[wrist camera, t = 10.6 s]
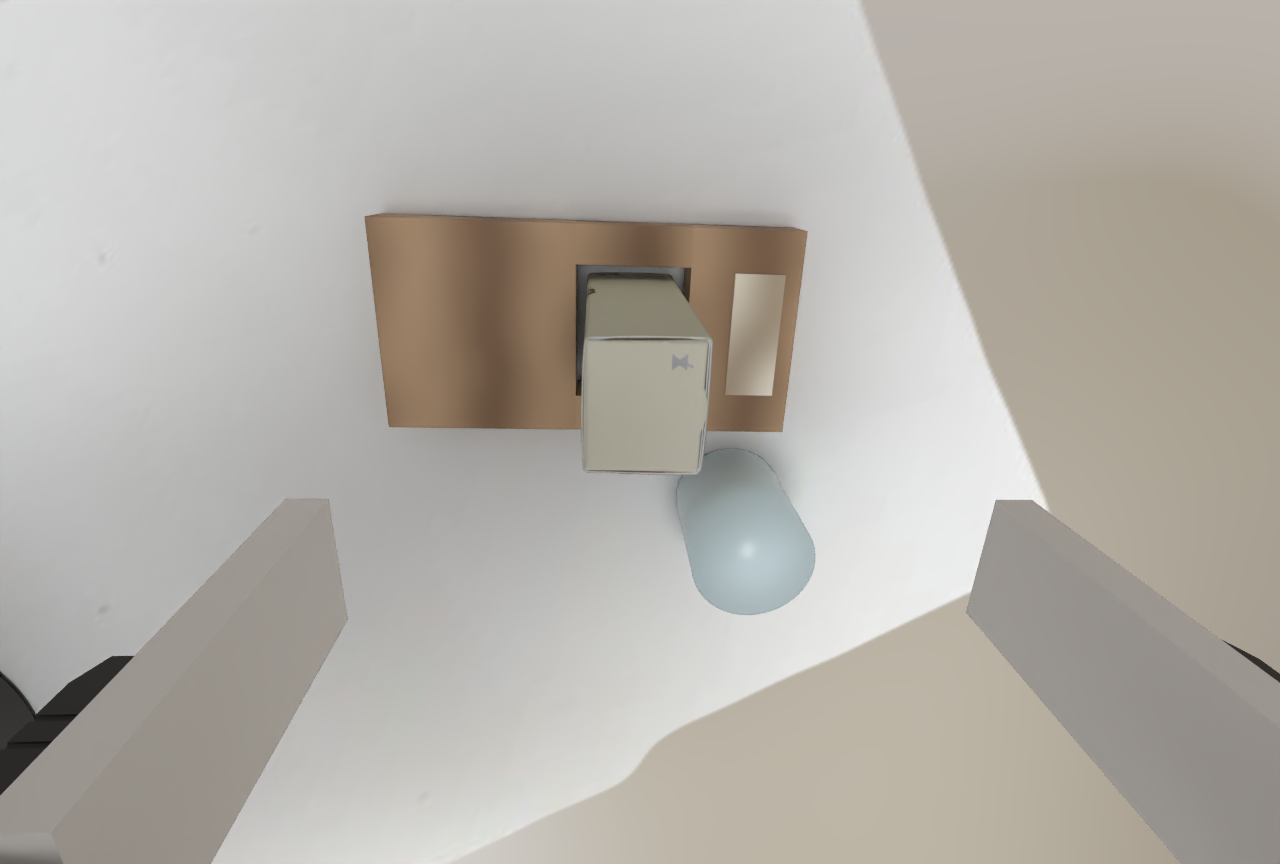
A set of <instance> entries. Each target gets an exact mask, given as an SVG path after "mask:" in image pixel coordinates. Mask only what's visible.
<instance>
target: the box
mask: <svg viewBox="0 0 1280 864" xmlns="http://www.w3.org/2000/svg"><path fill="white" fill-rule="evenodd" d="M712 348H713V340H712V338H711V336H710V335H709V333H708V332H707V330H706V329H705V327H704V326H703V324H702V323H701V321H700V320H699V318H698V316H697V315H696V313H695V312H694V310H693V309H692V307H691V306H690V304H689V303H688V301H687V300H686V298H685V297H684V295H683V294H682V292H681V291H680V289H679V287H678V286H677V284H676V283H675V281H674V280H673V278H672V276H671V275H668V274H645V273H591V274H589V276H588V280H587V302H586V323H585V338H584V347H583V362H582V395H581V435H582V464H583V470H584V471H585V472H588V473H620V474H648V475H696V474H698V473H699V472H700V471H701V467H702V462H703V454H704V446H705V437H706V427H707V417H708V407H709V393H710V380H711V364H712Z"/></svg>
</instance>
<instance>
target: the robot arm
mask: <svg viewBox="0 0 1280 864" xmlns="http://www.w3.org/2000/svg"><path fill="white" fill-rule="evenodd" d="M966 613H967V614H968V615H969V617H970V618H971V619H972V620H973V621H974V622H975V624H976V625H977V626H978V627H979V628H980V629H981V630H982V632H983V633H984V634H985V635H986V636H987V637H988V639H989V640H990V641H991V642H992V643H993V645H994V646H995V647H996V648H997V649H998V650H999V651H1000V653H1001V654H1002V655H1003V656H1004V657H1005V659H1006V660H1007V661H1008V662H1009V663H1010V664H1011V666H1012V667H1013V668H1014V669H1015V670H1016V672H1017V673H1018V674H1019V675H1020V676H1021V677H1022V679H1023V680H1024V681H1025V682H1026V683H1027V684H1028V686H1029V687H1030V688H1031V689H1032V690H1033V691H1034V693H1035V694H1036V695H1037V696H1038V697H1039V698H1040V700H1041V701H1042V702H1043V703H1044V704H1045V705H1046V707H1047V708H1048V709H1049V710H1050V711H1051V713H1052V714H1053V715H1054V716H1055V717H1056V718H1057V720H1058V721H1059V722H1060V723H1061V724H1062V725H1063V727H1064V728H1065V729H1066V730H1067V731H1068V732H1069V734H1070V735H1071V736H1072V737H1073V738H1074V739H1075V740H1076V742H1077V743H1078V744H1079V745H1080V746H1081V748H1082V749H1083V750H1084V751H1085V752H1086V753H1087V755H1088V756H1089V757H1090V758H1091V759H1092V761H1093V762H1094V763H1095V764H1096V765H1097V766H1098V768H1100V770H1101V771H1102V772H1103V773H1104V775H1105V776H1106V777H1107V778H1108V779H1109V780H1110V781H1111V783H1112V784H1113V785H1114V786H1115V787H1116V788H1117V790H1118V791H1119V792H1120V793H1121V794H1122V796H1123V797H1124V798H1125V799H1126V800H1127V801H1128V803H1129V804H1130V805H1131V806H1132V807H1133V808H1134V810H1135V811H1136V812H1137V813H1138V814H1139V816H1140V817H1141V818H1142V819H1143V820H1144V821H1145V823H1146V824H1147V825H1148V826H1149V827H1150V828H1151V830H1152V831H1153V832H1154V833H1155V834H1156V835H1157V837H1159V839H1160V840H1161V841H1162V842H1163V844H1164V845H1165V846H1166V847H1167V848H1168V849H1169V851H1170V852H1171V853H1172V854H1173V855H1174V856H1175V858H1176V859H1177V860H1178V861H1179V862H1180V863H1181V864H1280V674H1279V673H1278V672H1276V671H1275V670H1273V669H1272V668H1271V667H1269V666H1268V665H1267V664H1265V663H1264V662H1263V661H1261V660H1260V659H1258V658H1256V657H1254V656H1252V655H1250V654H1248V653H1247V652H1245V651H1243V650H1241V649H1239V648H1237V647H1235V646H1233V645H1231V644H1229V643H1227V642H1225V641H1223V640H1221V639H1220V638H1218V637H1217V636H1216V635H1214V634H1213V633H1211V632H1210V631H1209V630H1208V629H1206V628H1205V627H1203V626H1202V625H1201V624H1199V623H1198V622H1196V621H1195V620H1194V619H1192V618H1191V617H1190V616H1188V615H1187V614H1186V613H1184V612H1183V611H1182V610H1180V609H1179V608H1178V607H1176V606H1175V605H1174V604H1172V603H1171V602H1169V601H1168V600H1167V599H1165V598H1164V597H1163V596H1161V595H1160V594H1159V593H1157V592H1156V591H1154V590H1153V589H1152V588H1151V587H1149V586H1148V585H1146V584H1145V583H1144V582H1142V581H1141V580H1139V579H1138V578H1137V577H1136V576H1134V575H1133V574H1132V573H1130V572H1129V571H1127V570H1126V569H1125V568H1123V567H1122V566H1121V565H1119V564H1118V563H1117V562H1115V561H1114V560H1112V559H1111V558H1110V557H1108V556H1107V555H1106V554H1104V553H1103V552H1102V551H1100V550H1099V549H1097V548H1096V547H1095V546H1093V545H1092V544H1091V543H1089V542H1088V541H1087V540H1085V539H1084V538H1083V537H1081V536H1080V535H1078V534H1077V533H1076V532H1075V531H1073V530H1072V529H1070V528H1069V527H1068V526H1066V525H1065V524H1064V523H1062V522H1061V521H1060V520H1058V519H1057V518H1056V517H1054V516H1053V515H1051V514H1050V513H1049V512H1047V511H1046V510H1045V509H1043V508H1042V507H1041V506H1039V505H1038V504H1037V503H1035V502H1034V501H1032V500H996V502H995V505H994V509H993V513H992V517H991V520H990V524H989V528H988V531H987V535H986V539H985V543H984V546H983V550H982V554H981V558H980V561H979V565H978V569H977V573H976V576H975V580H974V584H973V588H972V591H971V595H970V599H969V602H968V606H967V610H966ZM346 621H347V613H346V607H345V601H344V594H343V588H342V582H341V576H340V569H339V563H338V557H337V550H336V544H335V538H334V531H333V525H332V519H331V513H330V506H329V500H328V499H285V500H284V501H283V502H282V504H281V505H280V506H279V507H278V508H277V509H276V510H275V511H274V512H273V513H272V514H271V515H270V516H269V517H268V518H267V519H266V520H265V521H264V522H263V523H262V524H261V525H260V526H259V527H258V528H257V529H256V531H255V532H254V533H253V534H252V535H251V536H250V537H249V538H248V539H247V540H246V541H245V542H244V543H243V544H242V545H241V546H240V547H239V548H238V549H237V550H236V551H235V552H234V553H233V554H232V555H231V556H230V558H229V559H228V560H227V561H226V562H225V563H224V564H223V565H222V566H221V567H220V568H219V569H218V570H217V571H216V572H215V573H214V574H213V575H212V576H211V577H210V578H209V579H208V580H207V581H206V582H205V584H204V585H203V586H202V587H201V588H200V589H199V590H198V591H197V592H196V593H195V594H194V595H193V596H192V597H191V598H190V599H189V600H188V601H187V602H186V603H185V604H184V605H183V606H182V607H181V608H180V609H179V611H178V612H177V613H176V614H175V615H174V616H173V617H172V618H171V619H170V620H169V621H168V622H167V623H166V624H165V625H164V626H163V627H162V628H161V629H160V630H159V631H158V632H157V633H156V634H155V635H154V636H153V638H152V639H151V640H150V641H149V642H148V643H147V644H146V645H145V646H144V647H143V648H142V649H141V650H140V651H139V652H138V653H137V654H136V655H135V656H112V657H110V658H108V659H107V660H105V661H104V662H102V663H100V664H99V665H97V666H96V667H94V668H92V669H91V670H89V671H88V672H86V673H84V674H83V675H81V676H79V677H78V678H76V679H75V680H73V681H71V682H70V683H68V684H67V685H66V686H65V687H64V688H63V689H62V690H61V691H60V692H59V693H58V694H57V695H56V696H55V697H54V698H53V699H52V700H51V701H50V702H49V703H48V704H47V705H45V706H44V707H43V708H42V709H41V710H40V711H39V712H38V713H37V714H36V718H35V720H34V718H33V715H32V714H31V712H30V710H29V708H28V707H27V705H26V704H25V702H24V701H23V700H22V698H21V697H20V696H19V695H18V693H17V692H16V691H15V690H14V689H13V688H12V687H11V686H10V685H9V684H8V683H7V682H6V681H5V680H4V679H3V678H1V677H0V864H211V862H212V861H213V859H214V857H215V855H216V853H217V852H218V850H219V848H220V846H221V845H222V843H223V841H224V839H225V837H226V836H227V834H228V832H229V830H230V828H231V827H232V825H233V823H234V821H235V820H236V818H237V816H238V814H239V812H240V811H241V809H242V807H243V805H244V803H245V802H246V800H247V798H248V796H249V795H250V793H251V791H252V789H253V787H254V786H255V784H256V782H257V780H258V778H259V777H260V775H261V773H262V771H263V770H264V768H265V766H266V764H267V762H268V761H269V759H270V757H271V755H272V753H273V752H274V750H275V748H276V746H277V745H278V743H279V741H280V739H281V737H282V736H283V734H284V732H285V730H286V729H287V727H288V725H289V723H290V721H291V720H292V718H293V716H294V714H295V712H296V711H297V709H298V707H299V705H300V704H301V702H302V700H303V698H304V696H305V695H306V693H307V691H308V689H309V687H310V686H311V684H312V682H313V680H314V679H315V677H316V675H317V673H318V671H319V670H320V668H321V666H322V664H323V662H324V661H325V659H326V657H327V655H328V654H329V652H330V650H331V648H332V646H333V645H334V643H335V641H336V639H337V637H338V636H339V634H340V632H341V630H342V629H343V627H344V625H345V623H346Z"/></svg>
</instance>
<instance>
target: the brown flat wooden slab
mask: <svg viewBox="0 0 1280 864" xmlns="http://www.w3.org/2000/svg"><path fill="white" fill-rule="evenodd" d="M365 224H366V233H367V241H368V250H369V259H370V267H371V276H372V285H373V293H374V302H375V311H376V319H377V328H378V337H379V345H380V354H381V363H382V371H383V380H384V389H385V397H386V406H387V415H388V423H389V427H422V428H504V429H581V395H582V382H577V264H580V265H614V266H648V267H682V268H685V273H684V289H683V295H684V297H685V298H686V300H687V301H688V303H689V304H690V306H691V307H692V309H693V310H694V312H695V313H696V315H697V316H698V318H699V320H700V321H701V323H702V324H703V326H704V327H705V329H706V330H707V332H708V333H709V335H710V336H711V338H712V340H713V348H712V364H711V380H710V393H709V407H708V417H707V427H706V431H752V432H782V429H783V421H784V413H785V405H786V397H787V389H788V382H789V374H790V366H791V358H792V350H793V342H794V334H795V326H796V318H797V310H798V302H799V294H800V287H801V279H802V271H803V263H804V255H805V247H806V239H807V231H804V230H800V229H796V228H790V227H760V226H731V225H702V224H672V223H643V222H614V221H585V220H555V219H526V218H497V217H467V216H438V215H409V214H376V215H370V216H365Z"/></svg>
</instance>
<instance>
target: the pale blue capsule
mask: <svg viewBox="0 0 1280 864" xmlns="http://www.w3.org/2000/svg"><path fill="white" fill-rule="evenodd" d="M676 504H677V509H678V513H679V518H680V522H681V527H682V531H683V535H684V540H685V544H686V549H687V553H688V557H689V562H690V566H691V571H692V575H693V579H694V582H695V585H696V587H697V589H698V591H699V592H700V593H701V595H702V596H703V597H704V598H705V599H706V600H707V601H708V602H709V603H711V604H712V605H713V606H715V607H717V608H719V609H721V610H723V611H726V612H729V613H733V614H740V615H755V614H761V613H766V612H769V611H772V610H775V609H777V608H780V607H781V606H783V605H785V604H787V603H788V602H790V601H791V600H792V599H794V598H795V597H796V596H797V595H798V594H799V593H800V592H801V591H802V590H803V589H804V587H805V586H806V584H807V583H808V581H809V579H810V577H811V575H812V572H813V570H814V565H815V548H814V544H813V541H812V539H811V536H810V534H809V533H808V531H807V529H806V527H805V526H804V524H803V522H802V521H801V519H800V517H799V515H798V514H797V512H796V510H795V508H794V507H793V505H792V503H791V501H790V500H789V498H788V496H787V494H786V493H785V491H784V489H783V487H782V486H781V484H780V482H779V480H778V479H777V477H776V475H775V473H774V472H773V470H772V469H771V467H770V466H769V465H768V464H767V463H766V461H764V460H763V459H762V458H761V457H759V456H757V455H756V454H753V453H751V452H749V451H745V450H740V449H722V450H717V451H714V452H711V453H708V454H706V455H704V456H703V462H702V467H701V471H700V472H699V473H698V474H696V475H683V476H682V477H681V479H680V482H679V484H678V488H677V493H676Z"/></svg>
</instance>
